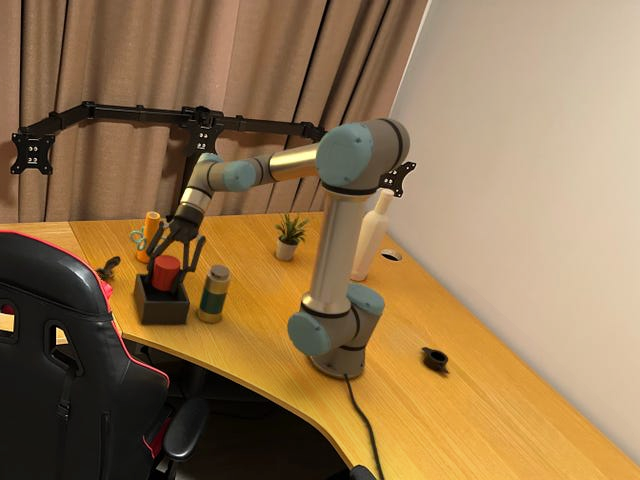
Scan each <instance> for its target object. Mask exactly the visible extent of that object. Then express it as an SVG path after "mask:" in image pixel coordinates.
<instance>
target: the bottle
mask: <svg viewBox="0 0 640 480" xmlns="http://www.w3.org/2000/svg"><path fill="white" fill-rule="evenodd" d="M394 195H395V192H394V190H392V189H390V188H383V189H382V190H381V192H380V194H379V198H378V200H377V202H376V205H375V207H374V209H372V210H370V211H368V212H367V213H366V214H365V215H364V217H363V221H362V226H361V231H360V235H359V240H358V244H357V249H356V254H355V258H354V263H353V267H352V272H351V277H350V280H351V281H355V282H360V281H364V280H366V277H367V276H368V275H369V272H370V268H371V266H372V264H373V261H374V259H375V257H376V255H377V253H378V251H379V248H380V245H381V243H382V241H383V238H384V236H385V234H386V232H387V229H388V227H389V217H388V214H387V212H388V209H389V207H390V205H391V202H392V200H393V199H394Z"/></svg>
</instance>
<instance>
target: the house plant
mask: <svg viewBox="0 0 640 480" xmlns="http://www.w3.org/2000/svg"><path fill="white" fill-rule="evenodd" d="M272 210H273V211H275V212H276V213H277V214H279V216H280V217H281V219H282V220H281V221H279V223H280V224H281V225H280V224H275V225H274V228H275V229H277V230H279V231H281V232H277V233H276V234H279V235H278V237H277V243H276V251H275V257H276V258H277V259H278V260H281V261H284V262H285V261H290V260H292V257H293V256H294V254H295V252H296V250H297V249H298V246H299V245H300V242H301V241H302V242H303V244H305V243H306V238H307V236H306V234H305V233H306V232H307V230H306V229H305V228H312V226H311V225H307V224H308V223H309V221H310V220H313V219H315V217H313V216H312V217H308V218H306V219H301V220H299V218H300V217H299V216H300V212H297V214H296V216H295V218H294V220H293V221H291V220H290V214H289V212H288V211H287V210H283V214H284V218H283V216H282V214H281V213H280V212H279V211H277V210H275V209H273V208H272ZM284 219H285V221H284ZM305 225H307V226H305ZM304 226H305V227H304ZM303 236H304V237H305V238H304V237H303Z"/></svg>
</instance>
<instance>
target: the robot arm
mask: <svg viewBox="0 0 640 480" xmlns="http://www.w3.org/2000/svg"><path fill="white" fill-rule="evenodd" d="M410 149H411V138H410V135H409V132H408V130H407V128H406V126H404V124H402V123H401V122H400V121H398V120H397V119H394V118H390V117H380V118H374V119H369V120H362V121H357V122H353V121H351V122H347V123H344V124H341V125H339V126H336V127H333V128H332V129H330V130H329V131H328V132H326V133H325V135H323V136H322V138H321V140H320V141H319V142H315V143H311V144H307V145H303V146H299V147H294V148H290V149H285V150H281V151H277V152H271V153H267V154H263V155H258V156H253V157H248V158H242V159H238V160H232V161H225V160H224V159H223V158H222V157H221V156H219V155H217V154H215V153H210V152H204V153H202V154H201V155H200V157H199V158H198V160H197V162H196V164H195V165H194V168H193V171H192V173H191V175H190V178H189V180H188V183H187V185H186V188H185V190H184V193H183V195H182V197H181V199H180V202H179V205H178V206H177V209H176V211H175V212H174V213H175V214H174V216H173V218H172V220H171V221H170V222H164V221H163V220H159V225H158V230H157V232H156V234H155V235H154V237H153V239H152V241H151V242H150V244H149V246H148V248H147V250H146V254H147V255H148V256H149V257H150V260H149V262H148V263H146V266H145V267H146V268H145V269H146V271H147V272H146V274H147V276H146V278H145V280H144V282H145V283H146V284H148V285H149V283H150V280H151V278H152V275H153V269H154V263H155V259H156V258H157V257H158V256H161V255H163V253H164V252H165V251H166V250H167V249H168V248H169V247H170V246H171V245H172V244H173V243H174V242H177V243H178V242H179V243H181V244H182V245H183V250H182V252H183V253H182V268H180V269H179V271H178V273H177V275H176V277H175V280H174V282H173V285H172V287H171V289H170V292H171V293H172V294H174V293H175V291H176V288H177V286H178V284H179V283H183V284H184V281H185V279H186V277H187V274H188V273H193V274H194V273H195V272H196V271H197V267H198V263H199V260H200V256H201V253H202V250H203V247H204V246H205V244H206V243H207V237H206V236H205V235H202V234H200V228H201V226H202V224H203V221H204V218H205V215H206V214H207V211H208V209H209V206H210V204H211V202H212V199H213V197H214V195H215V192H216V193H220V192H222V193H241V192H247V191H249V190H251V188H255V187H260V186H264V185H269V184H275V183H281V182H285V181H290V180H297V179H303V178H309V177H313V176H318V177H319V178H320V180H321V185H320V186H321V187H320V188H321V189H322V190H323V191H324V192H325V194H326V196H325V203H324V208H323V213H322V220H321V224H320V231H319V236H318V242H317V247H316V253H315V258H314V263H313V269H312V274H311V279H310V285H309V290H308V291H305V293H303V294H302V296H301V300H300V305H299V309H298V311H296V312H294V313H293V314H292V315H290V317H289V318H288V320H287V324H286V329H287V334H288V338H289V340H290V341H291V343H292V345H293V346H294V348H295V349H296V350H298V352H300V353H301V354H303V355H305V356H307V359H308V360H309V363H310V364H311V365H312V366H313V367H314V369H315V370H317V371H318V372H319V373H321V374H323V375H324V376H326V377H330V378H332V379H335V380H341V381H345V382H346V385H347V390H348V392H349V397H350V400H351V402H352V405H353V407H354V408H355V410H356V412H357V413H358V414H359V415H360V416H361V418H362V419H363V420H364V422H365V424H366V426H367V429H368V432H369V436H370V440H371V446H372V449H373V455H374V460H375V462H376V467H377V471H378V475H379V477H380V480H385V479H386V478H385V476H384V473H383V468H382V466H381V462H380V457H379V454H378V449H377V444H376V440H375V439H376V438H375V435H374V430H373V428H372V424H371V423H370V421H369V419H368V418H367V416H366V415H365V414H364V412H363V411H362V409H361V408H360V407H359V405H358V404H357V401H356V399H355V397H354V396H355V395H354V393H353V388H352V385H351V382H350V380H353V379H356V378H358V377H359V376H361V374H362V372H363V370H364V368H365V366H366V365H365V364H366V349H367V345H368V343H369V341H370V340H371V337H372V336H373V334H374V331H375V329H376V328H377V326H378V323H379V321H380V319H381V318H382V316H383V312H384V309H385V307H386V303H385V299H384V298H383V296H382V295H381V294H380V293H379V292H377V291H376V290H375V289H373V288H372V287H369V286H367V285H364V284H362V283H358V282H350V281H351V279H350V277H351V272H352V267H353V263H354V258H355V254H356V249H357V244H358V240H359V235H360V231H361V226H362V221H363V218H364V217H365V212H366V208H367V202H368V200H369V199H370V198H372V197H373V196H375V195H376V194H377V191H378V186H379V182H380V178H381V176H383V175H385V174H386V175H387V174H389V173H392V172H393V171H395V170H397V169H398V168H399V167H400V166H401V165H402V164H403V163H404V162H405V161H406V159H407V158H408V155H409V152H410ZM168 229H169V233H168V235H167V236H166V237H165V238H166V239H165V240H164V239H163V241H162V242H161V243H160V244H159V242H160V240H162V239H161V237H163V235H164V234H165V232H166V231H167V230H168ZM195 239H196V245H195V248H194V252H193V255H192V259H191V262H190V248H191V247H190V246H191V242H192V241H193V240H195ZM157 244H158V245H159V247H158V248H157V249H156V250H155V248H156V246H157ZM154 250H155V251H154ZM153 251H154V252H153ZM189 264H190V265H189Z"/></svg>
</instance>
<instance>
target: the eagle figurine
mask: <svg viewBox="0 0 640 480" xmlns="http://www.w3.org/2000/svg"><path fill="white" fill-rule="evenodd" d="M121 261H122V258H121V257H120V255H115V256H113V257H111V258H109V259H107V261H106V262H105V264H104V266H102V267H98V268H96V269H94V270H95V271H96V272H97V273H96V274H99V275H100V276H101V277H100V278H101V279H102V280H103V281H105V282H107V280H109V279H111V280H112V281H114V277H116V276H115V274H113V275H112V273H111V272H113V271H114V270H113V269H115V267H117V266H119V265H120V264H121ZM101 279H100V280H101ZM102 280H101V281H102Z"/></svg>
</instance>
